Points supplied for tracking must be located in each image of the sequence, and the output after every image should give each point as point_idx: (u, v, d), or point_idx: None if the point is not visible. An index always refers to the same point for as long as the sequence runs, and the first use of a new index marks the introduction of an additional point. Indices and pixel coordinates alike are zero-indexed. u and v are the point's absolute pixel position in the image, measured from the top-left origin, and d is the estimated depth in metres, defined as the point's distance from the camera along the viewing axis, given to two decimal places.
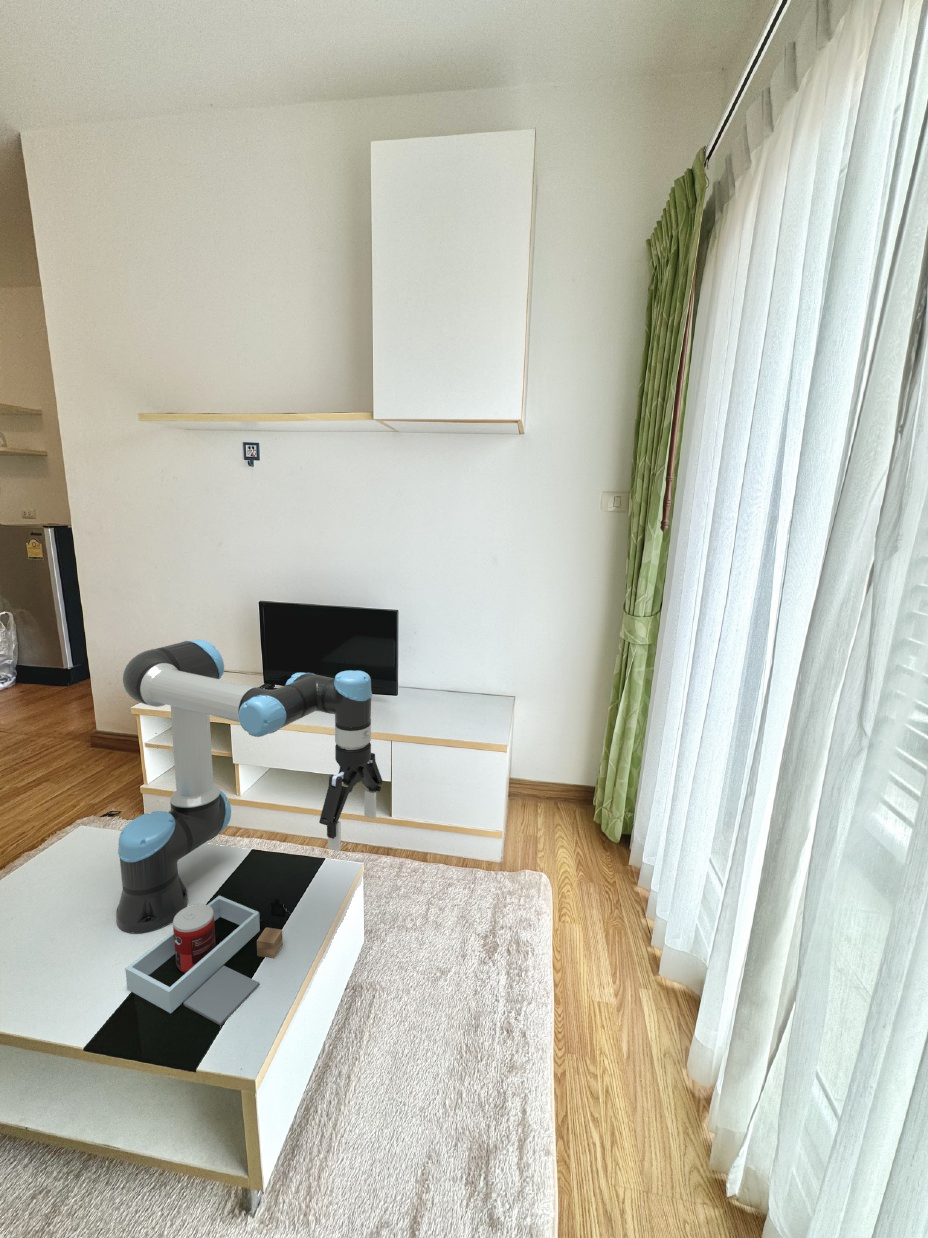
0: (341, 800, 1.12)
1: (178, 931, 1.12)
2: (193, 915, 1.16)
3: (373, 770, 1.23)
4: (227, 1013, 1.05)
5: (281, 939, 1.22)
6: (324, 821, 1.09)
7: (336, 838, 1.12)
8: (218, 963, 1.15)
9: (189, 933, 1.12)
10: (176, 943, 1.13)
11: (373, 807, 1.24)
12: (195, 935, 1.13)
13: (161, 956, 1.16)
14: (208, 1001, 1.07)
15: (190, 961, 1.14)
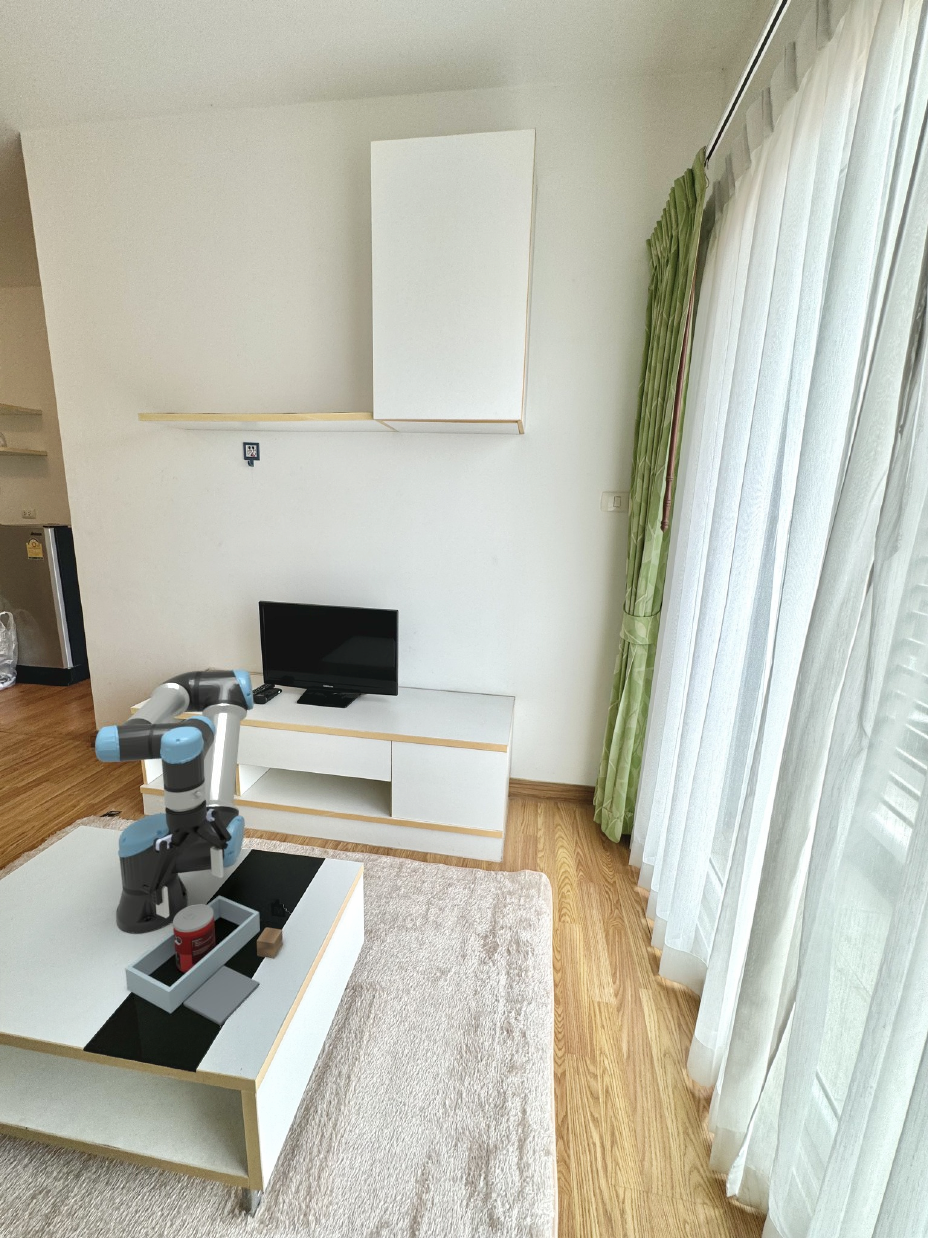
0: (168, 864, 1.07)
1: (178, 931, 1.12)
2: (193, 915, 1.16)
3: (217, 827, 1.18)
4: (227, 1013, 1.05)
5: (281, 939, 1.22)
6: (145, 888, 1.04)
7: (163, 904, 1.07)
8: (218, 963, 1.15)
9: (189, 933, 1.12)
10: (176, 943, 1.13)
11: (219, 865, 1.19)
12: (195, 935, 1.13)
13: (161, 956, 1.16)
14: (208, 1001, 1.07)
15: (190, 961, 1.14)
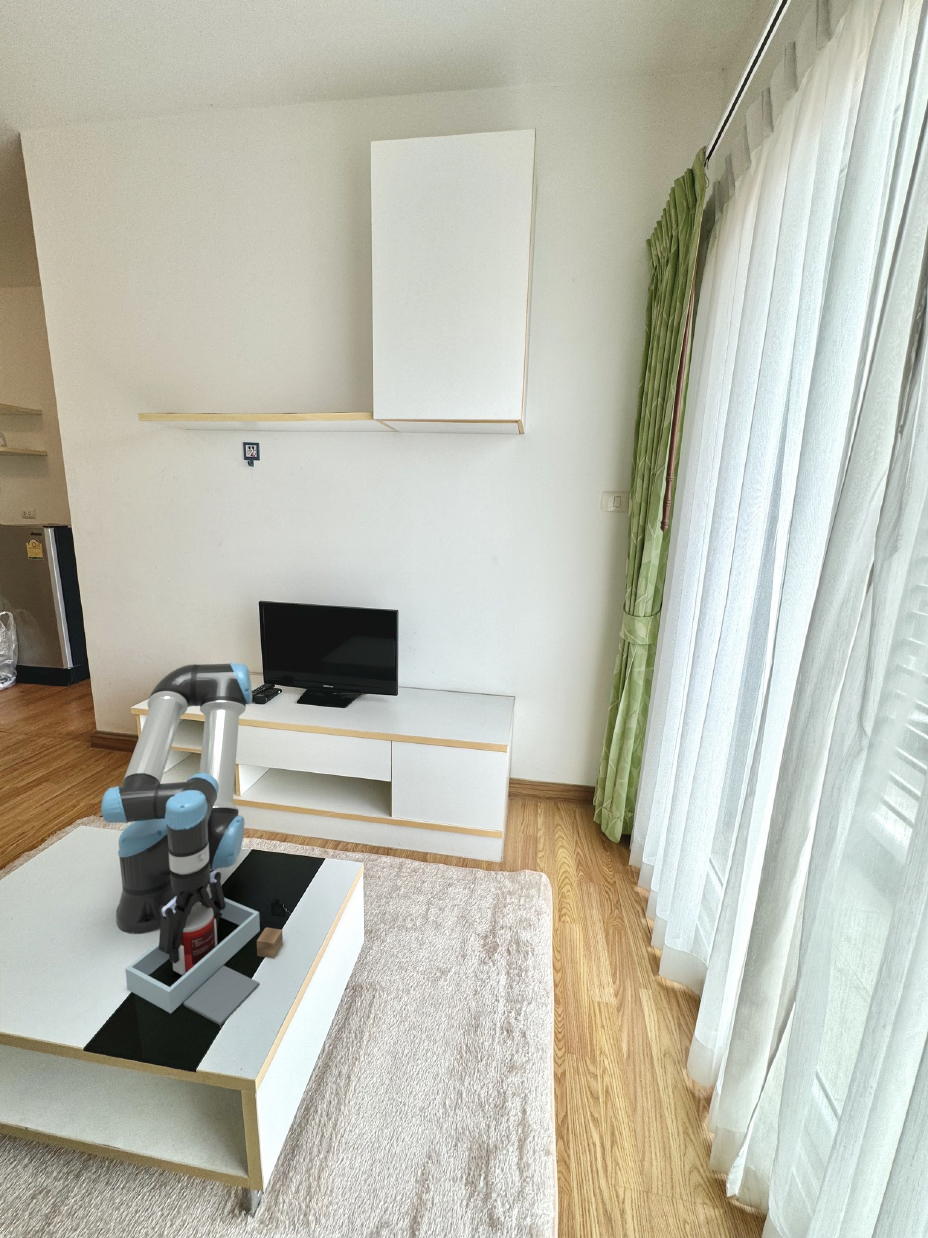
0: (179, 926, 1.11)
1: None
2: (193, 915, 1.16)
3: (216, 891, 1.20)
4: (227, 1013, 1.05)
5: (281, 939, 1.22)
6: (162, 950, 1.09)
7: (179, 962, 1.13)
8: (218, 963, 1.15)
9: (189, 933, 1.12)
10: None
11: None
12: (195, 935, 1.13)
13: (161, 956, 1.16)
14: (208, 1001, 1.07)
15: (190, 961, 1.14)
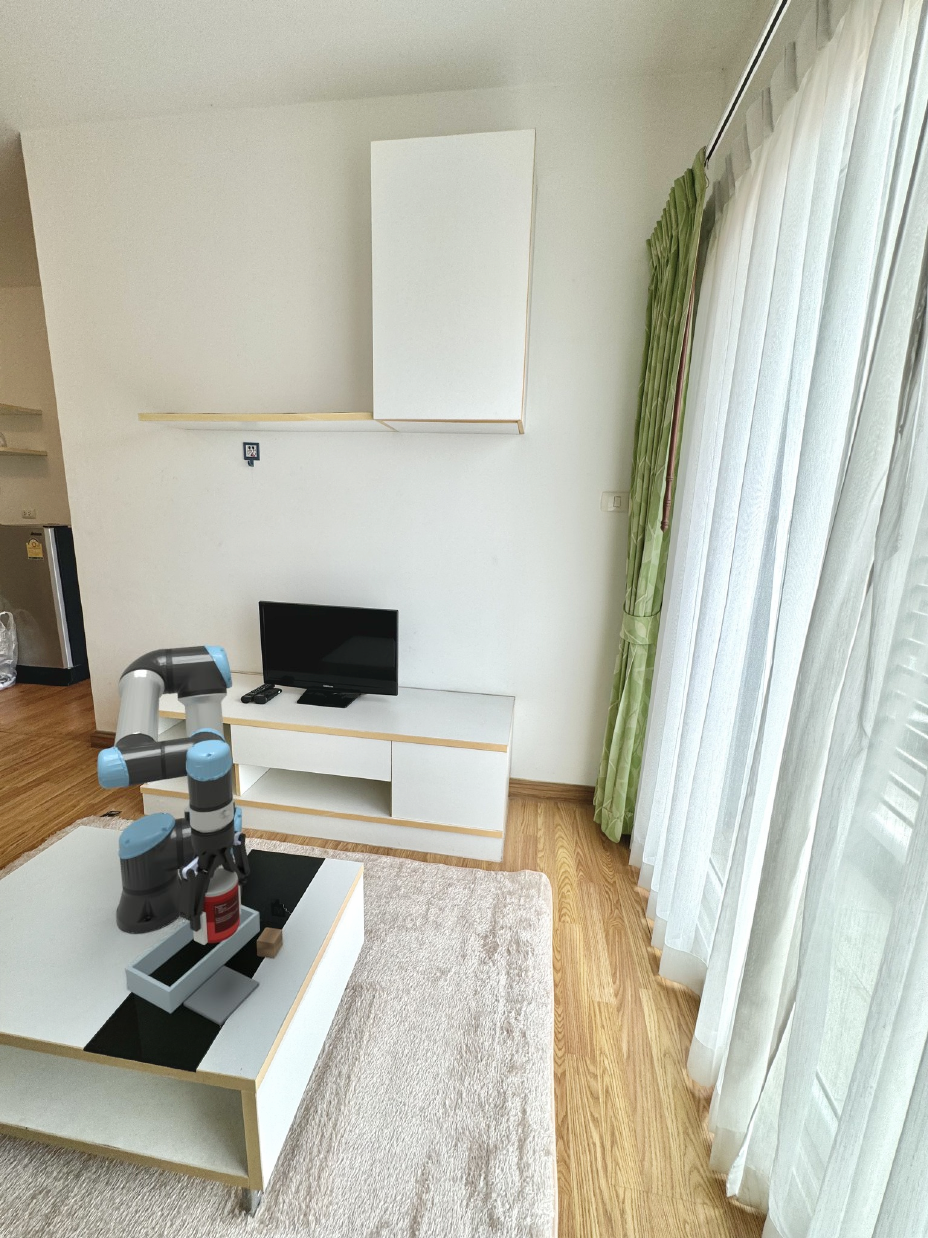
0: (201, 890, 1.00)
1: None
2: (216, 879, 1.05)
3: (240, 854, 1.09)
4: (227, 1013, 1.05)
5: (281, 939, 1.22)
6: (183, 916, 0.98)
7: (201, 930, 1.01)
8: (218, 963, 1.15)
9: (212, 898, 1.01)
10: None
11: None
12: (219, 900, 1.02)
13: (161, 956, 1.16)
14: (208, 1001, 1.07)
15: (213, 930, 1.02)
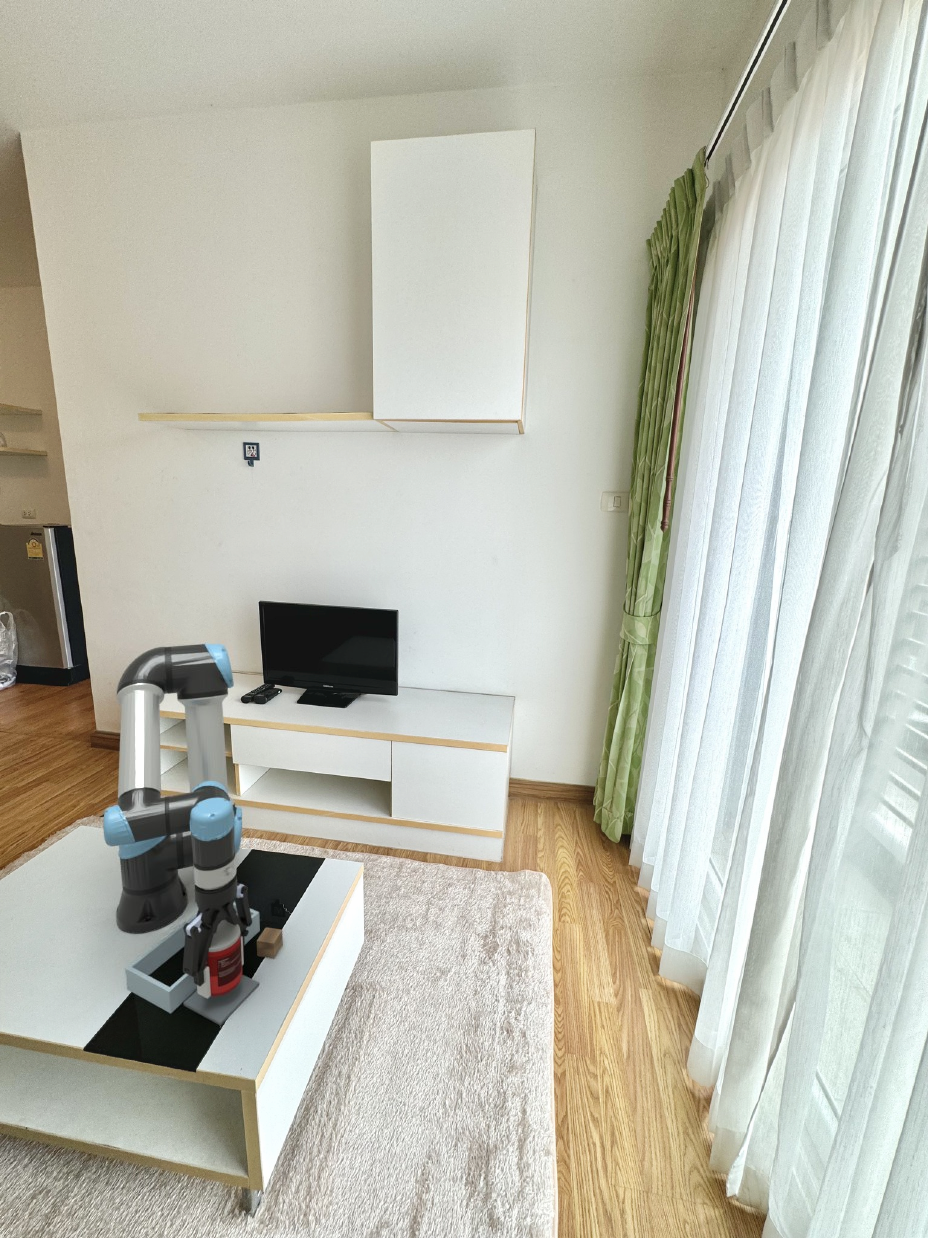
0: (204, 946, 1.03)
1: None
2: (219, 933, 1.07)
3: (243, 907, 1.11)
4: (227, 1013, 1.05)
5: (281, 939, 1.22)
6: (187, 972, 1.00)
7: (204, 985, 1.04)
8: None
9: (215, 953, 1.03)
10: None
11: None
12: (222, 955, 1.04)
13: (161, 956, 1.16)
14: (208, 1001, 1.07)
15: (216, 983, 1.05)
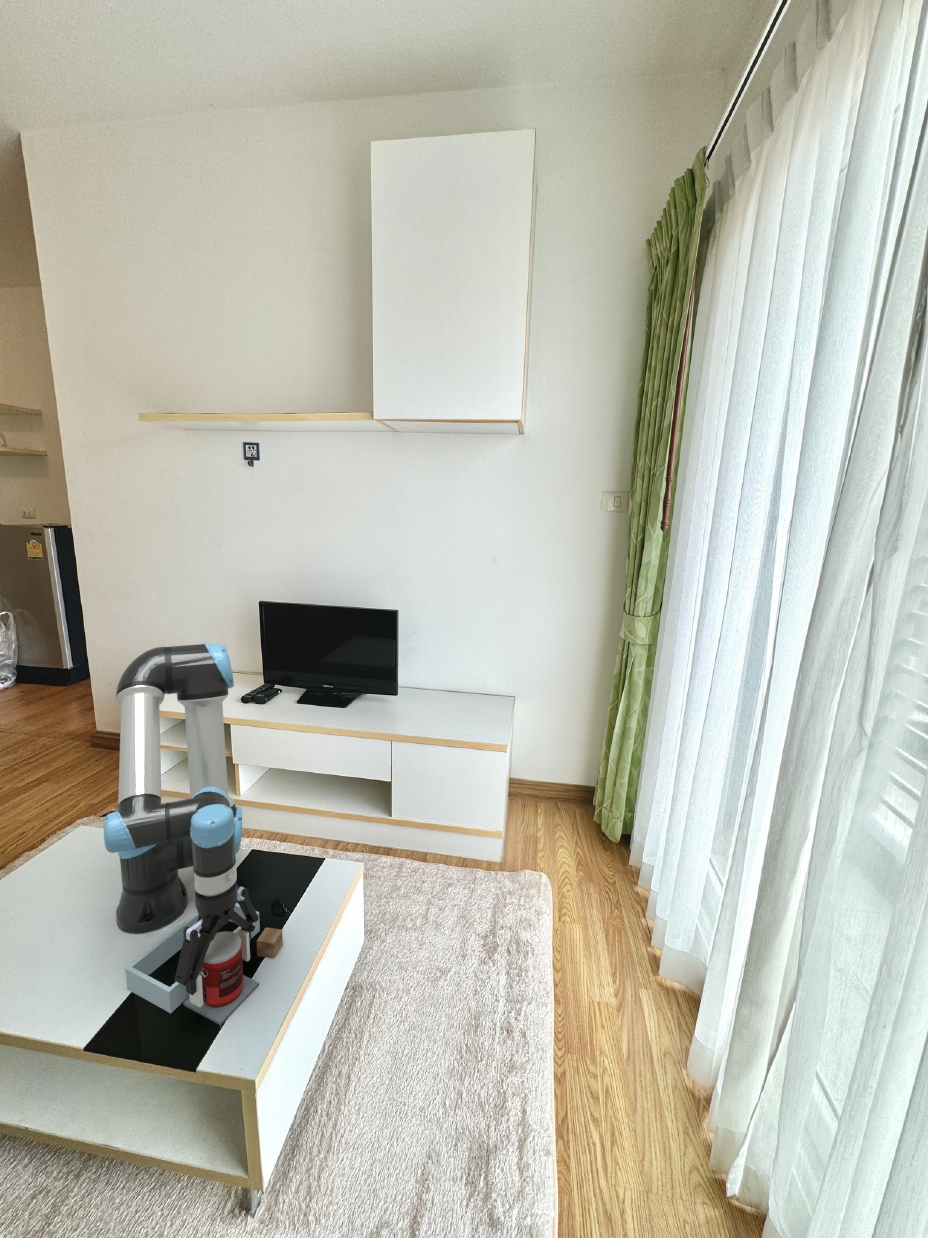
0: (200, 952, 1.02)
1: (204, 962, 1.04)
2: (220, 944, 1.08)
3: (246, 907, 1.12)
4: (227, 1013, 1.05)
5: (281, 939, 1.22)
6: (179, 980, 0.99)
7: (197, 993, 1.02)
8: None
9: (216, 964, 1.04)
10: (202, 975, 1.05)
11: (246, 949, 1.13)
12: (223, 966, 1.05)
13: (161, 956, 1.16)
14: None
15: (217, 995, 1.05)
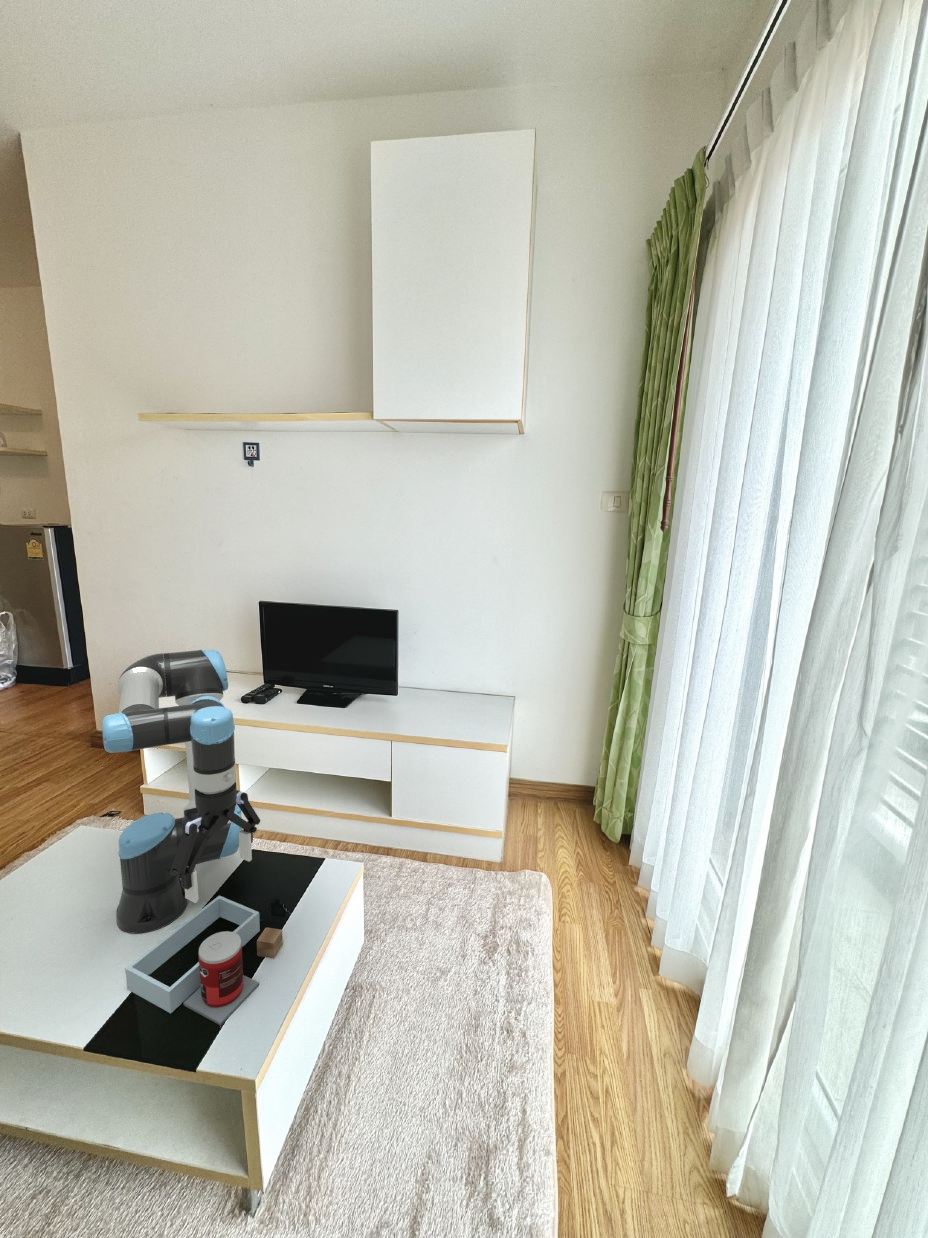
0: (198, 848, 1.03)
1: (204, 962, 1.04)
2: (220, 944, 1.08)
3: (246, 810, 1.14)
4: (227, 1013, 1.05)
5: (281, 939, 1.22)
6: (174, 872, 1.00)
7: (192, 888, 1.03)
8: None
9: (216, 964, 1.04)
10: (202, 975, 1.05)
11: (248, 849, 1.15)
12: (223, 966, 1.05)
13: (161, 956, 1.16)
14: None
15: (217, 995, 1.05)
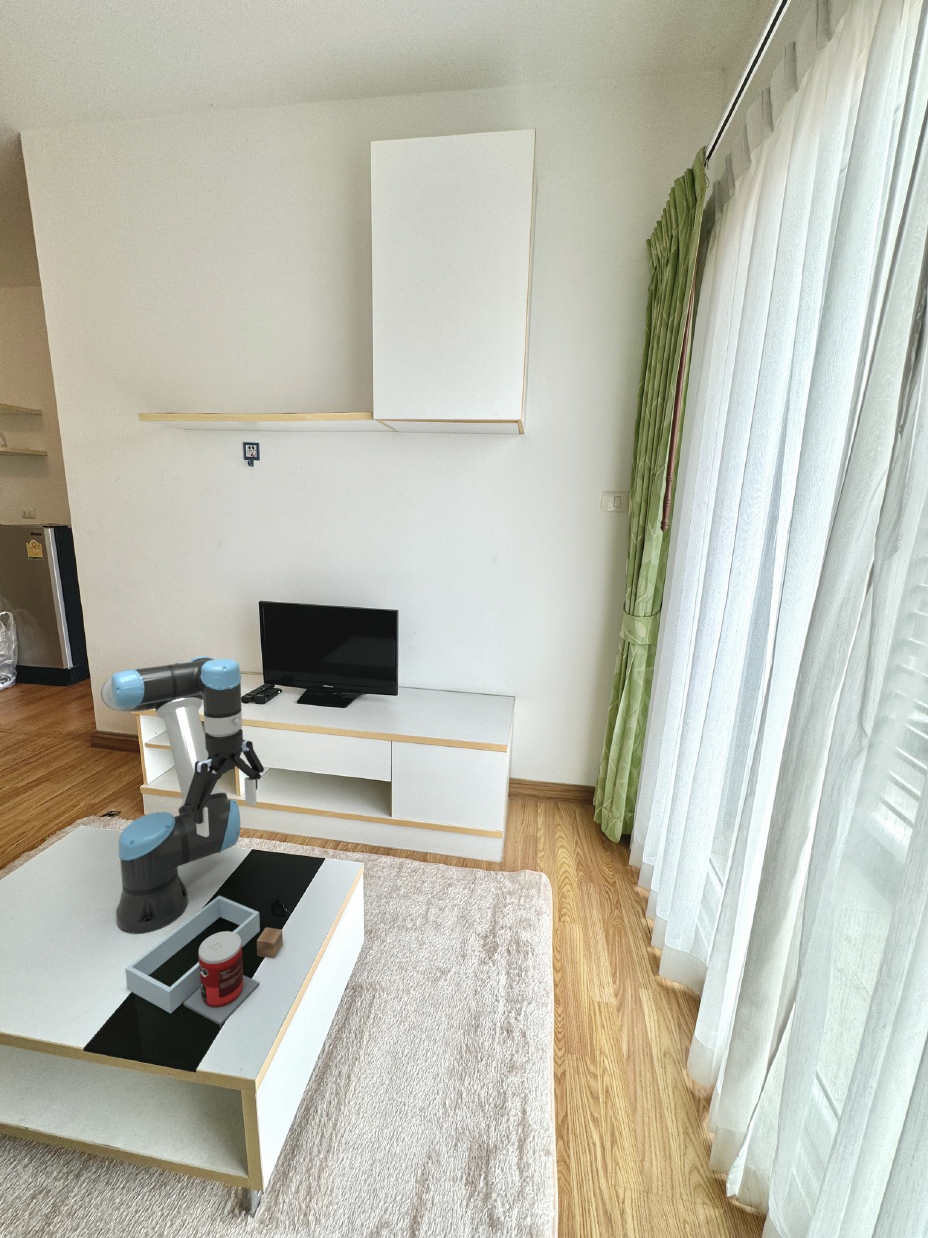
0: (208, 786, 1.14)
1: (204, 962, 1.04)
2: (220, 944, 1.08)
3: (251, 758, 1.24)
4: (227, 1013, 1.05)
5: (281, 939, 1.22)
6: (188, 807, 1.10)
7: (203, 824, 1.14)
8: None
9: (216, 964, 1.04)
10: (202, 975, 1.05)
11: (253, 795, 1.26)
12: (223, 966, 1.05)
13: (161, 956, 1.16)
14: None
15: (217, 995, 1.05)
